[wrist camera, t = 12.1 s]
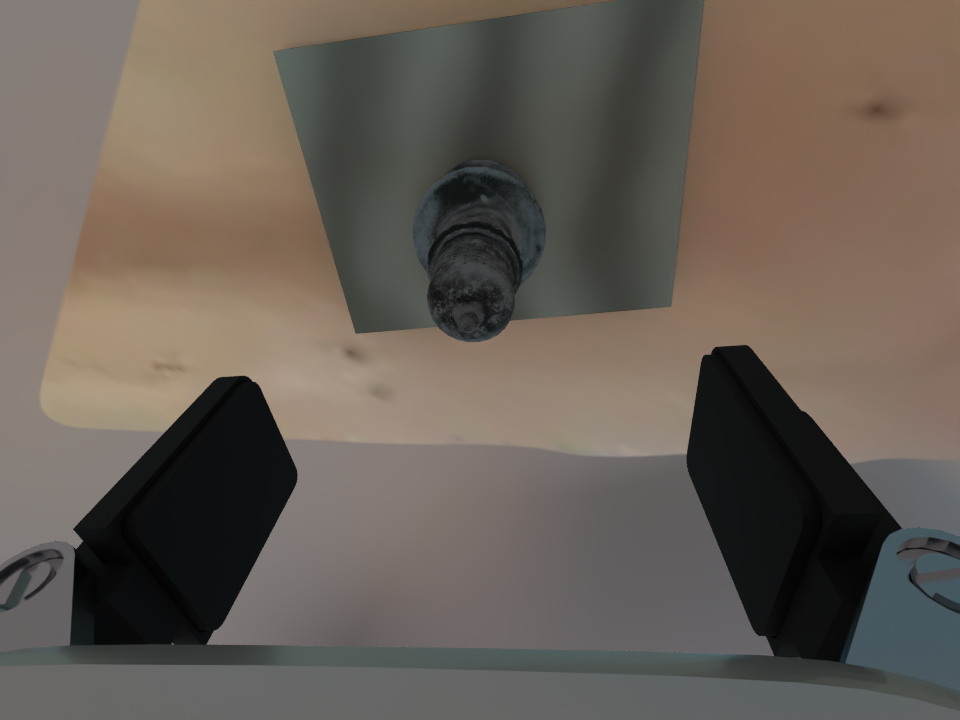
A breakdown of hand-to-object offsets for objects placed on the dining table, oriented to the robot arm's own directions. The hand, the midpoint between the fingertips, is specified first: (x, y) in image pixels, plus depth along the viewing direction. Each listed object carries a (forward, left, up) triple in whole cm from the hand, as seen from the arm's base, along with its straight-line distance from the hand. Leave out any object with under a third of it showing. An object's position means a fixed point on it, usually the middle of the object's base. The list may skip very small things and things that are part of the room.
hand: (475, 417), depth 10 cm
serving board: (0, -1, -18) cm, 18 cm away
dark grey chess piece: (0, 0, -16) cm, 16 cm away
